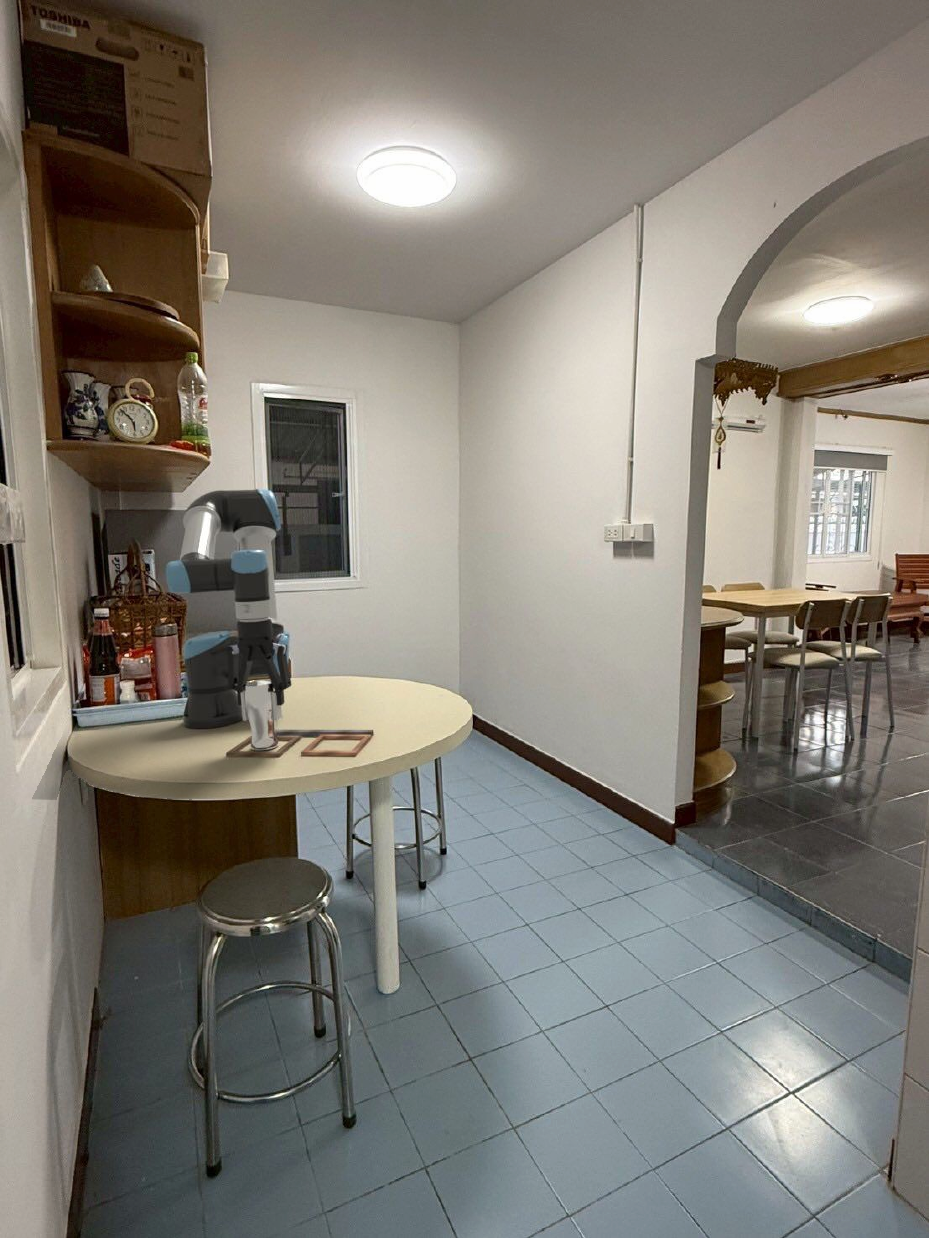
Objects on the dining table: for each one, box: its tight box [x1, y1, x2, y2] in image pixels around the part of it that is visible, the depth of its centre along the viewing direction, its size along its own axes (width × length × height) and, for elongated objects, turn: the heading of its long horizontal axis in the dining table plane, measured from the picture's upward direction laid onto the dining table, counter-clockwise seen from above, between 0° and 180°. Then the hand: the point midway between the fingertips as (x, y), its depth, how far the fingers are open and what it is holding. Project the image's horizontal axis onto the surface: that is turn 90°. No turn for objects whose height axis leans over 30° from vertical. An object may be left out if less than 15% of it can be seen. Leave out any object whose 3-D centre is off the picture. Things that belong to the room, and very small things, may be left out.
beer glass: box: [244, 678, 279, 751], centre depth 150 cm, size 7×7×15 cm
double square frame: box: [225, 729, 374, 758], centre depth 151 cm, size 29×16×1 cm, turn 82°
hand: (262, 718), depth 150 cm, fingers closed on beer glass, 7 cm apart
